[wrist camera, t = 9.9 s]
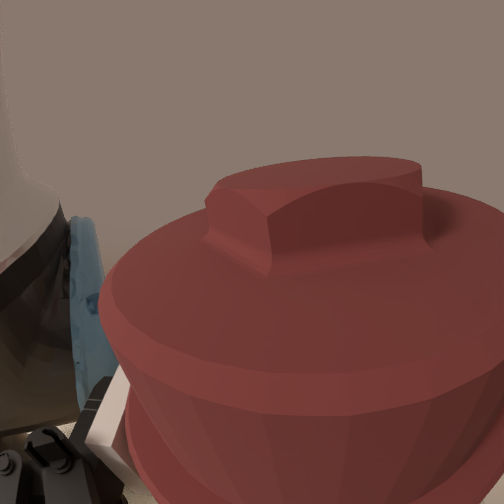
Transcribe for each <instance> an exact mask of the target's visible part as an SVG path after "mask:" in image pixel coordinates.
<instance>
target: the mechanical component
mask: <svg viewBox="0 0 504 504" xmlns="http://www.w3.org/2000/svg"><path fill="white" fill-rule="evenodd" d="M205 205H206V208H205V209H202V210H199V211H197V212H194V213H191V214H189V215H186V216H184V217H182V218H179V219H177V220H175V221H173V222H171V223H168V224H167V225H165V226H163V227H161V228H159V229H157V230H156V231H154V232H152V233H151V234H150V235H148V236H146V237H145V238H143V239H142V240H140V241H139V242H138V243H137V244H136V245H135V246H133V247H132V248H131V249H130V250H129V251H128V252H127V253H126V254H125V255H124V256H123V257H122V258H121V259H120V260H119V261H118V262H117V263H116V264H115V265H114V267H113V268H112V269H111V270H110V272H109V273H108V274H107V276H106V278H105V280H104V282H103V284H102V286H101V289H100V294H99V299H98V311H99V317H100V322H101V326H102V328H103V330H104V332H105V335H106V337H107V339H108V341H109V343H110V345H111V347H112V350H113V352H114V354H115V356H116V358H117V360H118V362H119V364H120V366H121V368H122V370H123V372H124V374H125V376H126V377H127V379H128V381H129V383H130V387H129V392H128V396H127V401H126V405H125V431H126V437H127V443H128V448H129V452H130V455H131V457H132V460H133V462H134V464H135V467H136V469H137V472H138V474H139V476H140V478H141V479H142V481H143V482H144V484H145V485H146V487H147V488H148V490H149V491H150V493H151V494H152V495H153V497H154V498H155V500H156V501H157V502H158V503H159V504H479V503H480V502H481V501H482V500H483V499H484V498H485V496H486V495H487V494H488V493H489V492H490V490H491V489H492V488H493V487H494V485H495V484H496V483H497V481H498V480H499V479H500V477H501V476H502V474H503V473H504V213H502V212H501V211H499V210H498V209H496V208H494V207H492V206H489V205H487V204H485V203H483V202H481V201H478V200H475V199H472V198H469V197H466V196H463V195H459V194H456V193H452V192H449V191H444V190H438V189H433V188H428V187H422V170H421V165H420V164H419V163H416V162H414V161H410V160H405V159H398V158H389V157H367V156H366V157H365V156H362V157H332V158H319V159H309V160H300V161H293V162H286V163H280V164H274V165H268V166H263V167H259V168H254V169H250V170H246V171H243V172H239V173H236V174H233V175H230V176H227V177H225V178H223V179H221V180H219V181H218V182H217V184H216V185H215V186H214V188H213V189H212V191H211V192H210V193H209V195H208V196H207V198H206V199H205Z"/></svg>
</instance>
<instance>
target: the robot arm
mask: <svg viewBox="0 0 504 504" xmlns="http://www.w3.org/2000/svg"><path fill="white" fill-rule="evenodd" d="M2 5H3V0H0V504H128V501H127V500H126V498H125V496H124V495H123V494H122V492H123V488H124V485H125V486H126V487H127V488H128V489H130V490H131V491H132V492H133V493H138V494H145V495H152V494H151V493H150V491H149V490H148V488H147V487H146V485H145V484H144V482H143V481H142V479H141V478H140V476H139V474H138V472H137V469H136V467H135V464H134V462H133V460H132V457H131V455H130V452H129V448H128V443H127V437H126V431H125V405H126V401H127V396H128V392H129V387H130V383H129V381H128V379H127V377H126V376H125V374H124V372H123V370H122V368H121V366H120V364H119V362H118V360H117V358H116V356H115V354H114V352H113V350H112V347H111V345H110V343H109V341H108V339H107V337H106V335H105V332H104V330H103V328H102V326H101V322H100V317H99V311H98V299H99V294H100V289H101V286H102V284H103V282H104V280H105V275H104V270H103V265H102V260H101V255H100V250H99V244H98V239H97V235H96V230H95V224H94V222H93V220H92V219H91V218H88V217H83V218H80V217H78V216H74V217H72V218H71V220H70V221H69V222H67V221H66V219H65V217H64V214H63V211H62V208H61V205H60V202H59V198H58V196H57V193H56V191H55V189H54V188H53V187H51V186H49V185H47V184H45V183H43V182H41V181H39V180H37V179H35V178H33V177H31V176H28V175H27V174H26V173H25V172H24V171H23V170H22V168H21V165H20V161H19V157H18V153H17V149H16V144H15V140H14V135H13V130H12V125H11V120H10V114H9V108H8V101H7V94H6V86H5V76H4V66H3V49H2ZM73 422H76V424H75V426H74V429H73V431H72V433H71V435H70V437H69V439H67V437H66V436H65V435H64V434H63V433H62V432H61V431H60V430H59V429H58V428H57V427H56V426H60V425H64V424H69V423H73ZM32 431H33V432H32ZM27 432H32V433H31V434H27Z"/></svg>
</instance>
